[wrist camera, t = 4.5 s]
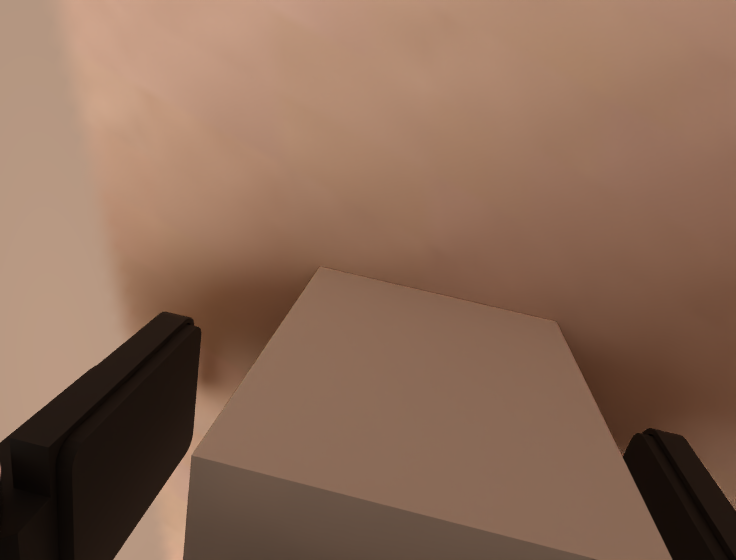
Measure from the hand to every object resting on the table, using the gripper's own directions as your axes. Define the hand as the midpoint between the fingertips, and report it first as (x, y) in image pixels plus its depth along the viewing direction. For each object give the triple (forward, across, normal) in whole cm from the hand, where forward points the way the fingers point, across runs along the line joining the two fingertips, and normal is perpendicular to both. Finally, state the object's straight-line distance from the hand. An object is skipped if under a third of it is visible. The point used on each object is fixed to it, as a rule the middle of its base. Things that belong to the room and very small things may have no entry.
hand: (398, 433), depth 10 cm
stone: (+2, 0, 0) cm, 2 cm away
